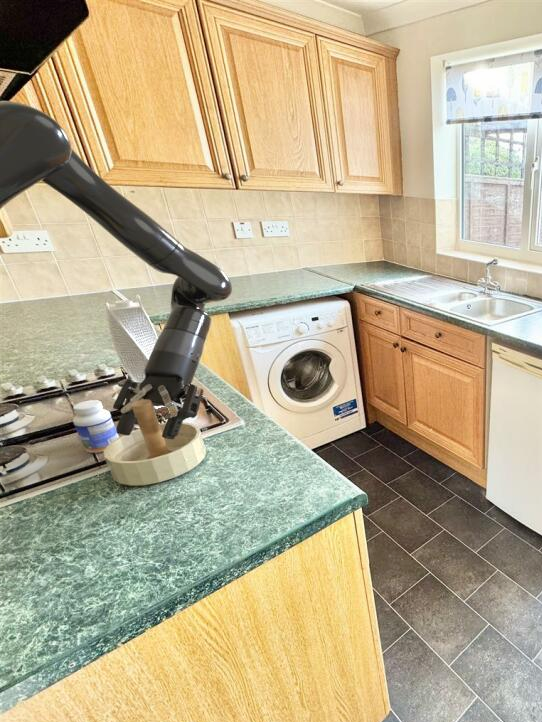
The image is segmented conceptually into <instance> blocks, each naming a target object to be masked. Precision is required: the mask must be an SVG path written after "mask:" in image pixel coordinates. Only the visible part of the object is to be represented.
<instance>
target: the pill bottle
mask: <svg viewBox="0 0 542 722" xmlns="http://www.w3.org/2000/svg"><path fill="white" fill-rule="evenodd" d="M72 409H73V412H74V414H75V416H74V417H73V418H72V423H73V425H74V427H75V430H76V433H77V434H78V437H79V439H80V441H81V444H82V446H83V448H84V450H85V451H86V452H87V453H90V454H91V453H92V454H97V453H104V450H105V449H106V447H107V446H108V445H109V444H110V443H111V442H113V441H114V440H116V439H117V438H119V437H120V436H119V434H118V433H117V430H116V426H115V423H114V420H113V418H112V414H111V412H110V411H109V410H108V409H105V408H104V406H103V403H102V401H100V400H98V399H90V400H85V401H81V402H78V403H76V404H74V405H73V407H72Z"/></svg>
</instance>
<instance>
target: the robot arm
mask: <svg viewBox="0 0 542 722" xmlns="http://www.w3.org/2000/svg"><path fill="white" fill-rule="evenodd" d="M40 182H42V183H44V184H46V185H47V186H49V187H51V188H52V189H53V190H55V191H56V192H58V193H59V194H60V195H61V196H63V197H65V198H66V199H67V200H68V201H70V202H71V203H72V204H73V205H75V206H77V207H78V208H79V209H81V211H82V212H84V213H85V214H86V215H88V216H89V217H90V218H91V219H92V220H94V221H95V222H96V223H97V224H98V225H99V226H101V227H102V228H103V229H104V230H105V231H106V232H107V233H108V234H110V235H111V236H112V237H113V238H114V239H116V241H118V242H119V243H120V244H121V245H122V246H124V247H125V248H126V249H127V250H129V251H131V253H133V254H134V255H135V256H137V257H138V258H139V259H140V260H141V261H142V262H144V263H145V264H146V265H148V266H149V267H151V269H153V270H154V271H157V272H158V273H162V274H168V275H174V276H176V279H174V282H173V284H172V288H171V294H170V295H171V296H170V312H169V315H168V316H167V319H166V320H165V324H164V326H163V328H162V330H161V333H160V334H159V336H157V337H158V339H157V341H156V343H155V346H154V348H153V351H152V353H151V355H150V358H149V360H148V363H147V365H146V367H145V370H144V372H145V376H146V377H145V379H144V380H143V381H142V382H141V383H139V382H134V381H132V379H130V378H129V379H126V380H125V381H124V383H123V385H122V387H121V389H120V390H119V393H118V395H117V397H116V399H115V400H114V403H113V405H112V409H114V410H116V411H119V412H120V413H121V416H120V417H119V420H118V423H117V425H116V426H115V428H116V431H117V433H118V435H121V436H123V435H126V436H129V435H130V434H131V432H132V431H133V429H134V426H135V424H136V422H137V419H136V416H135V414H134V411H133V408H132V406H131V405H132V403H134V402H136V401H139V400H142V399H143V400H145V399H148V400H151V402H152V405H153V406H164V407H167V408H168V410H169V415H170V416H169V417H167V420H166V422H165V423H166V425H165V428H164V431H163V433H162V437H163V438H167V439H174V438H175V436H177V435H178V433H179V430H180V427H181V424H182V422H184V421H185V420H186V419H190V418H191V419H194V418H196V417H197V416H198V412H199V409H200V405H201V403H202V398H203V394H204V389H203V388H202V387H200V386H198V385H195V384H194V383H193V380H194V378H195V375H196V372H197V369H198V367H199V364H200V361H201V359H202V355H203V352H204V346H205V343H206V340H207V338H208V335H209V332H210V330H211V326H212V317H211V315H210V314H209V313H208V312H206V311H205V307H206V305H207V304H210V303H219V302H222V301H225V300H227V299H228V298H229V297H230V296H231V294H232V292H233V285H232V282H231V280H230V278H229V277H228V275H227V274H226V273H225V272H224V270H222V269H221V267H218V266H217V265H216V264H214V263H213V262H211V261H210V260H209V259H206V258H205V257H203V256H201V255H200V254H198V253H197V252H195V251H193V250H191V249H190V248H187V247H186V246H185V245H183V244H182V243H181V242H180V241H179V240H178V239H177V238H176V237H174V235H172V234H171V233H170V232H169V231H168V230H166V228H164V227H163V226H162V225H161V224H160V223H159V222H157V221H156V220H155V219H154V218H153V217H151V216H150V215H149V214H147V213H146V212H145V211H143V210H142V209H141V208H139V207H138V206H137V205H136V204H134V203H133V202H131V200H129V199H128V198H126V197H125V196H124V195H122V194H121V193H120V192H119V191H117V190H116V189H115V188H114V187H112V186H111V185H110V184H109V183H107V182H106V181H105V180H104V179H103V178H102V177H101V176H99V175H98V174H97V173H96V172H95V171H94V170H93V169H92V168H91V167H90V166H89V165H88V164H87V163H86V162H85V161H84V160H83V159H82V158H81V157H80V156H79V154H77V153H76V152H75V150H73V148H72V143H71V141H70V138H69V135H68V134H67V132H66V131H65V130H64V128H63V127H62V126H61V125H60V123H59V122H57V121H56V119H54V118H52V117H51V116H50V115H48V114H47V113H46V112H43V111H42V110H40V109H38V108H35V107H33V106H30V105H28V104H25V103H21V102H17V101H16V102H15V101H11V100H0V210H2V209H3V208H4V207H5V206H6V205H7V204H8V203H10V202H11V201H12V200H15V198H16V197H18V196H20V195H21V194H23V193H24V192H25V191H27V190H29V189H30V188H32V187H33V186H35V185H37V184H38V183H40ZM191 383H193V384H191ZM184 396H185V397H184ZM183 397H184V400H183V399H182V398H183Z"/></svg>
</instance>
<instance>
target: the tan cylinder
mask: <svg viewBox="0 0 542 722" xmlns="http://www.w3.org/2000/svg"><path fill="white" fill-rule="evenodd" d="M131 406H132V408H133V411H134V414H135V417H136V422H137V425H138V428H139V429H140V430H141V433H142V435H143V438H144V441H145V444H146V446H147V449H148V452H149V454H150V456H149V457H148V458H147V459H152V458H155V457H159V456H162V455H166V454H169V453H171V452H173V451H170V450H168V448H167V445H166V442H165V439H164V438H163V437H162V431H161V428H160V425H159V424H160V422H159V419H158V416H156V413H155V410H154V407H153V405H152V402H151V400H148V399H145V400H139V401H136V402H134V403H132V405H131Z"/></svg>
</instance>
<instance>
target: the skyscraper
mask: <svg viewBox="0 0 542 722" xmlns="http://www.w3.org/2000/svg"><path fill="white" fill-rule="evenodd" d="M135 299H136V301H134V302H133V300H131V299H122V300H121V299H120V300H116V301H114V303H113V304H109V302H105V310H106V317H107V323H108V328H109V334H110V337H111V342H112V344H113V348H114V350H115V352H116V355H117V357H118V360H119V361H120V363H121V365H122V367H123V368H124V370H125V372H126V374H127V376H128V377H129V379H130V380H132V381H134V382H139V383H141V382H142V381H143V380H144V379H145V377H146V376H145V372H144V370H145V367H146V365H147V363H148V360H149V358H150V355H151V353H152V351H153V348H154V346H155V343H156V341H157V339H158V337H159V336H158V334H157V331H156V328H155V327H154V325H153V323H152V321H151V319H150V317H149V315H148V313H147V311H146V310H145V308H144V306H143V302H142V298H141V296H140V295H139V293H136V294H135ZM142 400H143V399H142ZM153 407H154V409H158V408H161V407H164V406H153Z"/></svg>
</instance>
